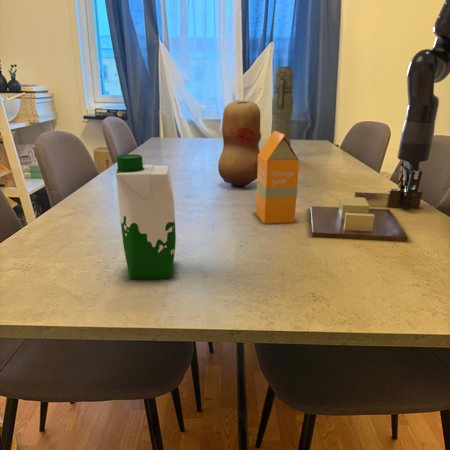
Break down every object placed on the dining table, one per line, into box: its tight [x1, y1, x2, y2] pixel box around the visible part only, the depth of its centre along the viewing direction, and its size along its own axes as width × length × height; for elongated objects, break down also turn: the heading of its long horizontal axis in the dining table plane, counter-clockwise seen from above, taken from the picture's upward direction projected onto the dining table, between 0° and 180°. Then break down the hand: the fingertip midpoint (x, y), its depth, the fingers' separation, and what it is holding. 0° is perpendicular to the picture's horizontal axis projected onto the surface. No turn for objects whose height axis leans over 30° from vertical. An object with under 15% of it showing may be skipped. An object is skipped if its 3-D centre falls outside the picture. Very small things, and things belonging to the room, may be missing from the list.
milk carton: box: [115, 153, 177, 280], centre depth 73 cm, size 9×9×20 cm
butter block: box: [338, 196, 370, 219], centre depth 106 cm, size 6×8×4 cm
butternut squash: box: [217, 100, 262, 187], centre depth 134 cm, size 14×13×25 cm
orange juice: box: [255, 131, 300, 225], centre depth 103 cm, size 8×9×20 cm
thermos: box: [271, 66, 294, 145], centre depth 184 cm, size 9×12×35 cm
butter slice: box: [344, 213, 375, 231], centre depth 95 cm, size 6×2×4 cm, turn 81°
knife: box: [353, 188, 423, 210], centre depth 117 cm, size 17×2×4 cm, turn 81°
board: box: [310, 205, 409, 243], centre depth 103 cm, size 20×22×1 cm
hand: (403, 205), depth 117 cm, fingers open, 6 cm apart
